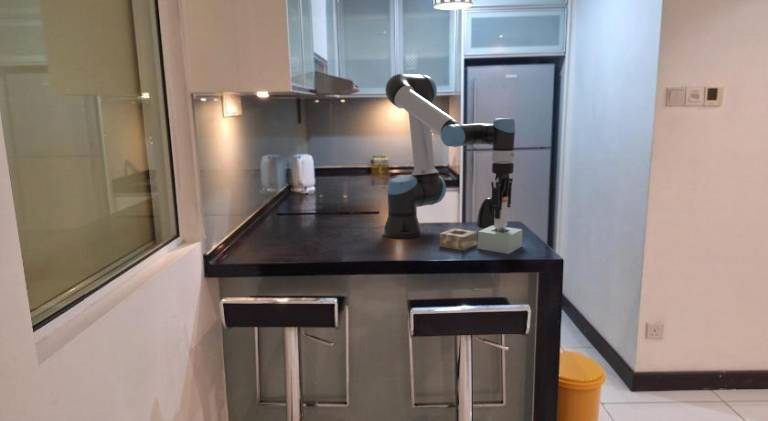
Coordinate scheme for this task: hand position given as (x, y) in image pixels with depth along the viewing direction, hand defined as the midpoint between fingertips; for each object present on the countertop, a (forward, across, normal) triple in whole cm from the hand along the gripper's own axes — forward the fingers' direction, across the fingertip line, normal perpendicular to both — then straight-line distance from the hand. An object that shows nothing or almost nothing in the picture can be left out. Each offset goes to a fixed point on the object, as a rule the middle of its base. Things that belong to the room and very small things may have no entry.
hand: (500, 225), depth 189 cm
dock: (+8, 0, 0) cm, 8 cm away
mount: (+8, -6, +14) cm, 17 cm away
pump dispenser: (+8, +16, +12) cm, 22 cm away
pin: (+6, 0, 0) cm, 6 cm away
